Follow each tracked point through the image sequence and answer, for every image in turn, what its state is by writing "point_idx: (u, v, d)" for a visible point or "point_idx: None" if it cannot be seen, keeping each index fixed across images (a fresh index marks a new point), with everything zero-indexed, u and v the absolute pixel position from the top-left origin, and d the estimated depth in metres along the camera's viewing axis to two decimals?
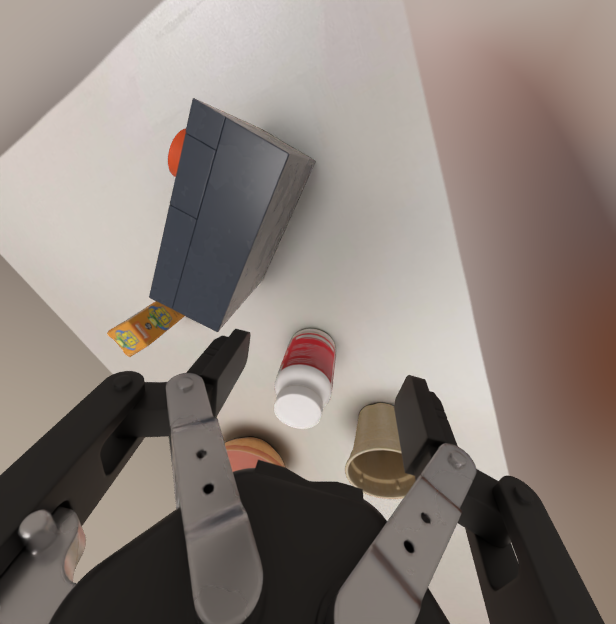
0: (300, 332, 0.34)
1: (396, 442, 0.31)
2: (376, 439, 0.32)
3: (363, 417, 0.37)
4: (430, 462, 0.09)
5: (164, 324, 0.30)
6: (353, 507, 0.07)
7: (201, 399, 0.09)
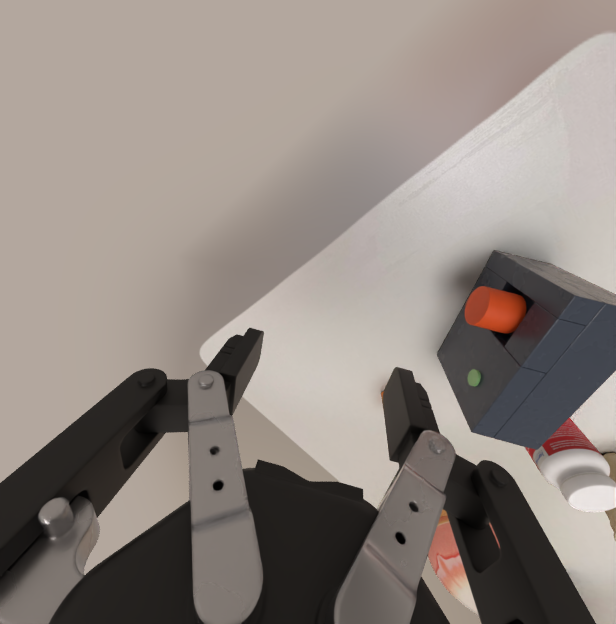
0: None
1: None
2: None
3: None
4: (413, 450, 0.09)
5: None
6: (353, 507, 0.07)
7: (220, 397, 0.09)
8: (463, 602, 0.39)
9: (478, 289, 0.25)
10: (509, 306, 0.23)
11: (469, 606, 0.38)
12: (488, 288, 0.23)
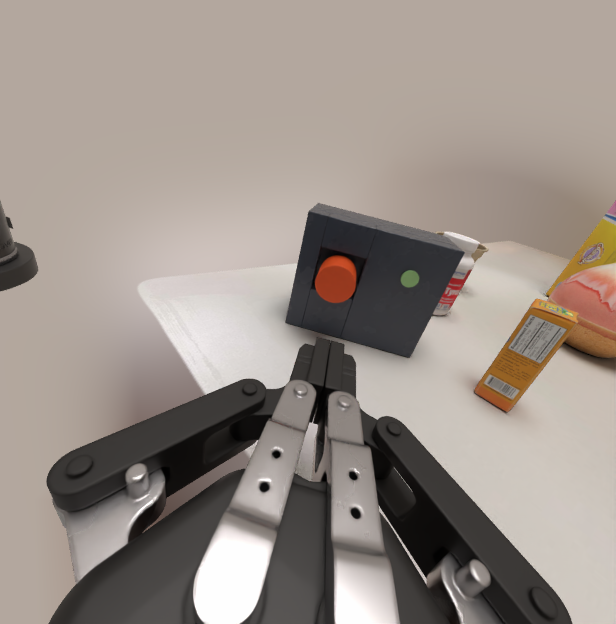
0: None
1: None
2: None
3: None
4: (329, 419, 0.09)
5: None
6: None
7: (305, 410, 0.10)
8: None
9: (319, 291, 0.25)
10: (328, 260, 0.25)
11: None
12: (316, 278, 0.24)
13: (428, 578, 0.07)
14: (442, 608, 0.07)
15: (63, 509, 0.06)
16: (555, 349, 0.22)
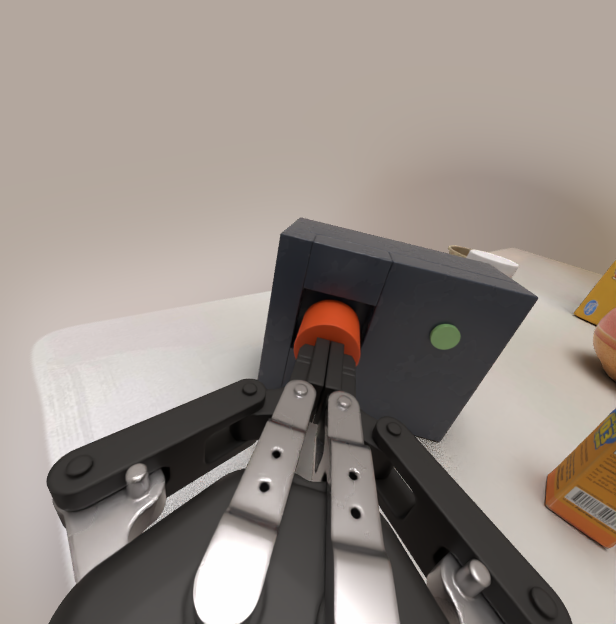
0: None
1: None
2: None
3: None
4: (329, 419, 0.09)
5: (611, 417, 0.16)
6: None
7: (305, 410, 0.10)
8: None
9: None
10: (315, 311, 0.15)
11: None
12: (295, 342, 0.15)
13: (428, 578, 0.07)
14: (442, 608, 0.07)
15: (63, 509, 0.06)
16: None
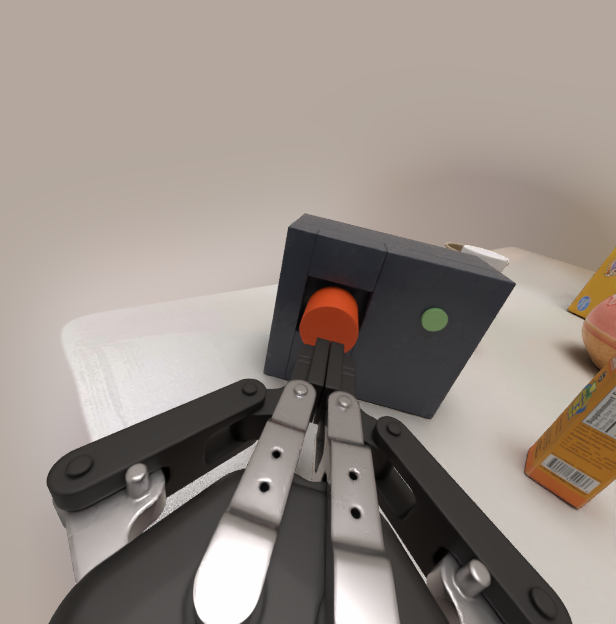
0: None
1: None
2: None
3: None
4: (329, 419, 0.09)
5: (582, 392, 0.18)
6: None
7: (305, 410, 0.10)
8: None
9: (306, 340, 0.17)
10: (318, 296, 0.17)
11: None
12: None
13: (428, 578, 0.07)
14: (442, 608, 0.07)
15: (63, 509, 0.06)
16: None
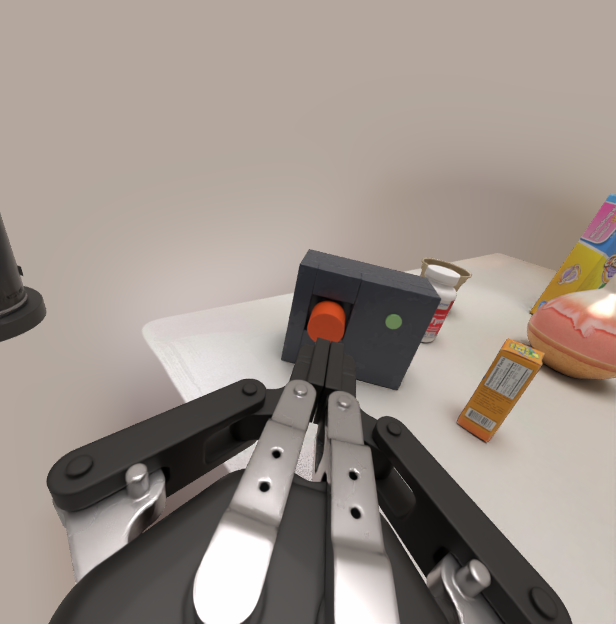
0: None
1: (424, 270, 0.53)
2: None
3: None
4: (329, 419, 0.09)
5: None
6: None
7: (305, 410, 0.10)
8: None
9: (311, 335, 0.27)
10: (319, 307, 0.27)
11: None
12: (308, 324, 0.27)
13: (428, 578, 0.07)
14: (442, 608, 0.07)
15: (63, 509, 0.06)
16: (524, 387, 0.24)
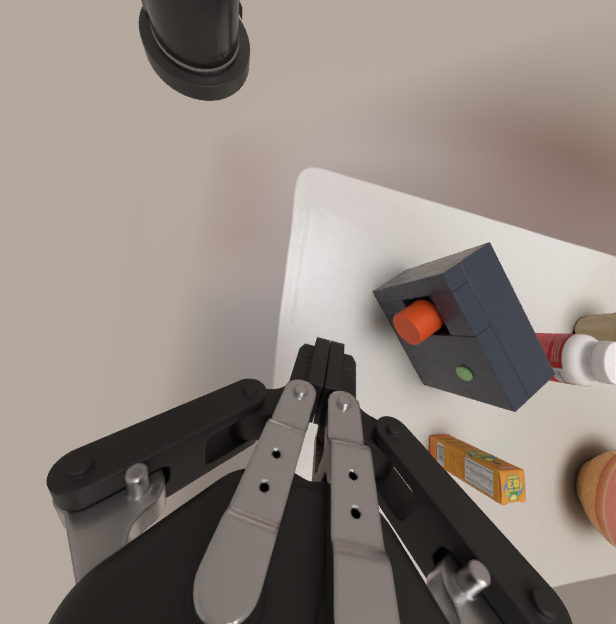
0: None
1: None
2: None
3: None
4: (329, 419, 0.09)
5: (487, 455, 0.30)
6: None
7: (305, 410, 0.10)
8: None
9: (394, 320, 0.28)
10: (422, 310, 0.26)
11: None
12: (399, 314, 0.27)
13: (428, 578, 0.07)
14: (442, 608, 0.07)
15: (63, 509, 0.06)
16: (477, 489, 0.28)
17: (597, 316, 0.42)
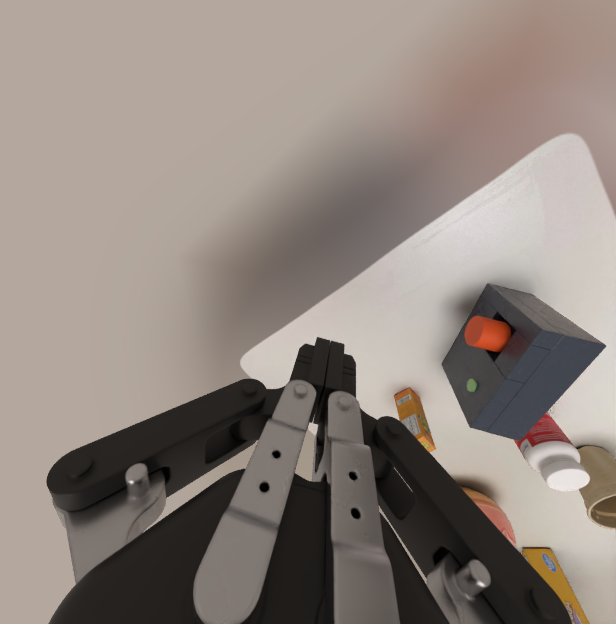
0: None
1: None
2: (612, 483, 0.39)
3: None
4: (329, 419, 0.09)
5: (427, 426, 0.40)
6: None
7: (305, 410, 0.10)
8: None
9: (475, 317, 0.32)
10: (498, 332, 0.30)
11: None
12: (482, 318, 0.31)
13: (428, 578, 0.07)
14: (442, 608, 0.07)
15: (63, 509, 0.06)
16: None
17: (612, 458, 0.43)
